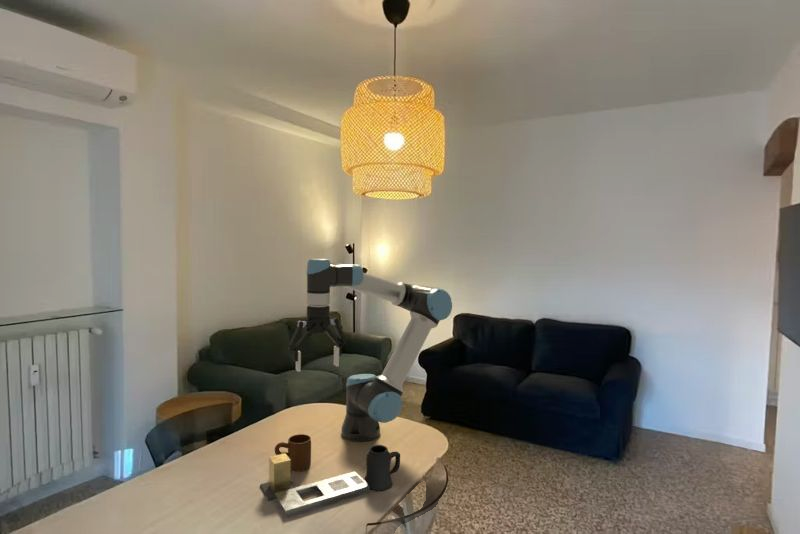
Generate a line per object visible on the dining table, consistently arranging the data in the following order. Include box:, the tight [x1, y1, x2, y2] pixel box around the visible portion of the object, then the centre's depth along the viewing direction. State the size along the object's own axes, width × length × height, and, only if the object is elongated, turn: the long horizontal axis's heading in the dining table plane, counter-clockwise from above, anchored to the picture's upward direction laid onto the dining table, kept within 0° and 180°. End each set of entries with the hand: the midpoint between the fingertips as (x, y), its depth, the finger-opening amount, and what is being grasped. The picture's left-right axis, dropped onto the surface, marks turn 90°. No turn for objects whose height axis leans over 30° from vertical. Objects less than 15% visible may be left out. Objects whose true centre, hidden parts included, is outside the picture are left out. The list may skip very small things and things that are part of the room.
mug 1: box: [274, 433, 312, 472], centre depth 154 cm, size 12×8×9 cm, turn 116°
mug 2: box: [363, 444, 401, 493], centre depth 146 cm, size 12×9×11 cm
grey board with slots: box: [274, 471, 371, 519], centre depth 138 cm, size 26×10×2 cm, turn 122°
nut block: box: [268, 453, 292, 493], centre depth 141 cm, size 5×5×9 cm
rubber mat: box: [259, 478, 297, 501], centre depth 141 cm, size 9×9×1 cm
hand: (317, 368), depth 156 cm, fingers open, 13 cm apart
